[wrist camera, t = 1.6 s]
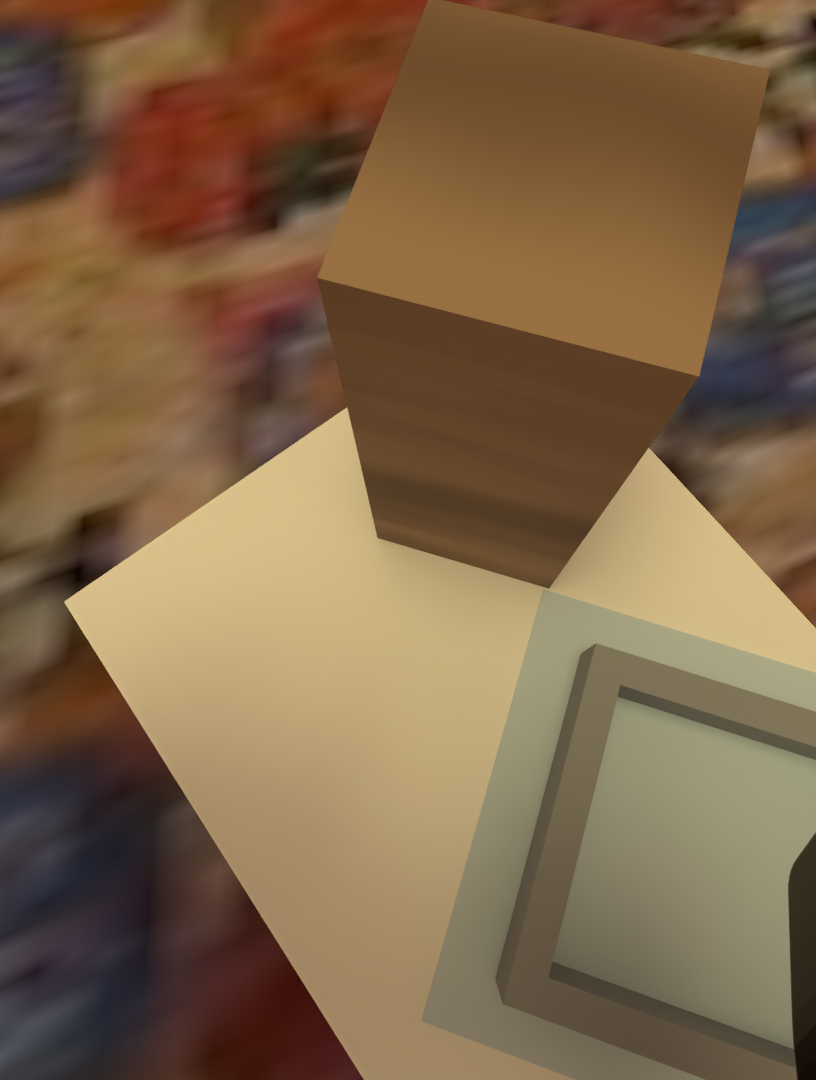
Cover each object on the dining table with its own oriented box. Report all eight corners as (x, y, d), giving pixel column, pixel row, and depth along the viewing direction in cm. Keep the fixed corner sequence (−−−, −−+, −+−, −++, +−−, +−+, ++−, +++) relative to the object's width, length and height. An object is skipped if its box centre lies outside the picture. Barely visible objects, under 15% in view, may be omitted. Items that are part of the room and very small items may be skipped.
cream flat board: (736, 1661, 15) (795, 1832, 13) (71, 605, 22) (27, 585, 19) (1274, 1071, 18) (1408, 1121, 15) (535, 286, 24) (547, 233, 22)
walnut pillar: (549, 588, 21) (698, 375, 9) (377, 538, 21) (317, 277, 10) (591, 429, 22) (769, 70, 11) (428, 385, 23) (429, -3, 11)
